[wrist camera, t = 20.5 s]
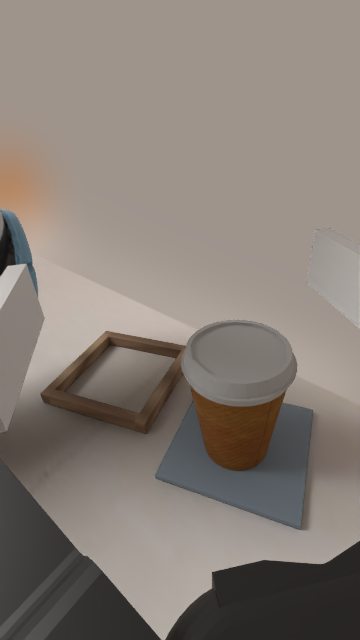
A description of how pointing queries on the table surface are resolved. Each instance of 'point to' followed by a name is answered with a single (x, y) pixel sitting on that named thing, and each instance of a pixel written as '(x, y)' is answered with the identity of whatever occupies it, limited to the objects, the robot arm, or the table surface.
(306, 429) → the rubber mat
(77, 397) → the cup holder frame
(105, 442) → the table surface
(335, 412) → the table surface
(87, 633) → the robot arm
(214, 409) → the disposable coffee cup
